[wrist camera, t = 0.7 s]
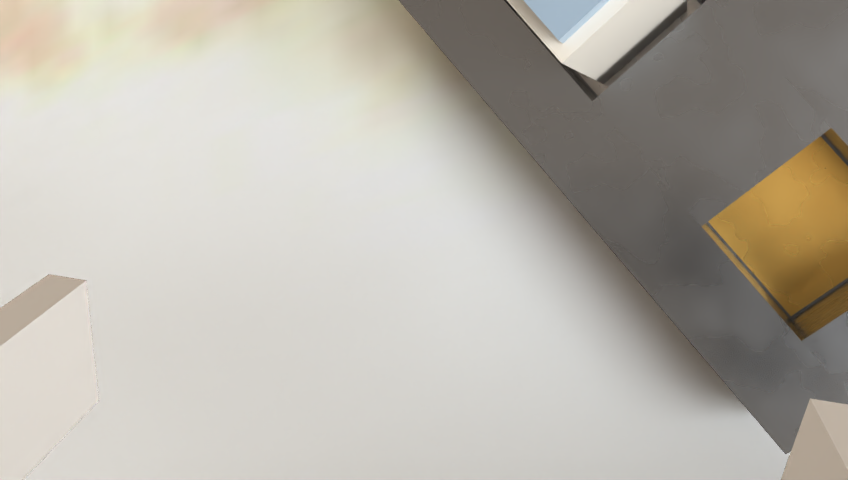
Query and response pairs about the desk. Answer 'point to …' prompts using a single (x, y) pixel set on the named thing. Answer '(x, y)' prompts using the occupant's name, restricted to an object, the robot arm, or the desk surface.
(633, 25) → the plug
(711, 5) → the panel block
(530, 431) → the desk surface
